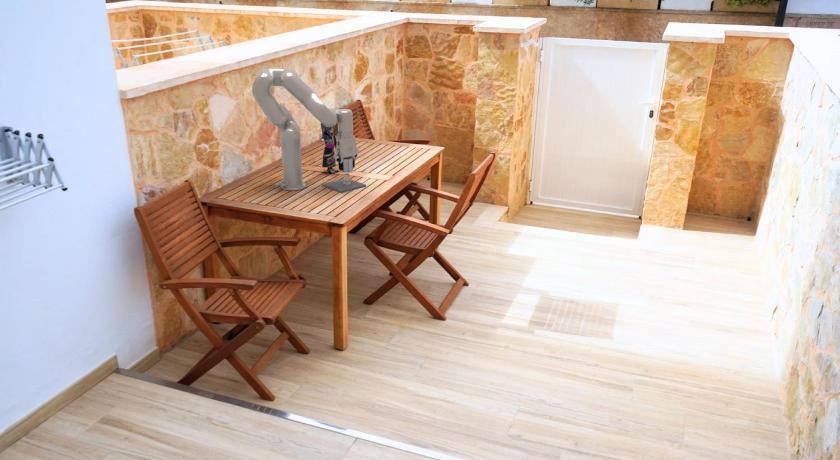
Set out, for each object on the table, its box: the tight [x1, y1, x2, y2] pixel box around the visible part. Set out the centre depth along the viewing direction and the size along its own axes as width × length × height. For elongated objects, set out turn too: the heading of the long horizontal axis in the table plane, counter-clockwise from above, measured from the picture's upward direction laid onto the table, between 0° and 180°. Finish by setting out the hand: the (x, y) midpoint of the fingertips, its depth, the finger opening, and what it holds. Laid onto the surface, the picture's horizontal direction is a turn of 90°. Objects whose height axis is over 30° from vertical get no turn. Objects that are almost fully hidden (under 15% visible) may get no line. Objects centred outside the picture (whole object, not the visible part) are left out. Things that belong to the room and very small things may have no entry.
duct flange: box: [321, 173, 367, 194], centre depth 346 cm, size 16×16×6 cm
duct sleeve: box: [339, 156, 354, 174], centre depth 344 cm, size 7×6×7 cm
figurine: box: [320, 122, 337, 175], centre depth 361 cm, size 17×8×30 cm, turn 168°
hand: (346, 168), depth 345 cm, fingers closed on duct sleeve, 6 cm apart
